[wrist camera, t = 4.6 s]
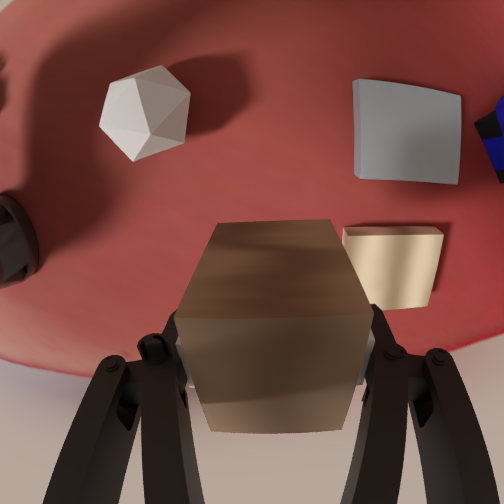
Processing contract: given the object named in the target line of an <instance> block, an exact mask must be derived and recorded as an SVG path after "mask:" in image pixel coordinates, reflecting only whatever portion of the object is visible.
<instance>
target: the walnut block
mask: <svg viewBox="0 0 504 504" xmlns="http://www.w3.org/2000/svg"><path fill="white" fill-rule="evenodd" d="M373 315H374V312H373V310H372V307H371V305H370V303H369V300H368V298H367V296H366V293H365V291H364V289H363V287H362V284H361V282H360V280H359V278H358V276H357V274H356V271H355V269H354V267H353V265H352V263H351V261H350V259H349V257H348V254H347V252H346V250H345V248H344V246H343V244H342V242H341V240H340V238H339V236H338V234H337V232H336V230H335V228H334V226H333V224H332V222H331V220H330V219H326V220H288V221H259V222H235V223H217V226H216V228H215V230H214V232H213V234H212V236H211V238H210V240H209V242H208V244H207V246H206V248H205V250H204V252H203V255H202V257H201V259H200V261H199V263H198V265H197V267H196V269H195V272H194V274H193V276H192V278H191V280H190V282H189V285H188V287H187V289H186V291H185V293H184V296H183V298H182V300H181V302H180V304H179V307H178V309H177V311H176V313H175V316H174V321H175V325H176V328H177V332H178V335H179V338H180V342H181V345H182V349H183V352H184V355H185V358H186V362H187V365H188V368H189V371H190V374H191V377H192V380H193V383H194V386H195V389H196V392H197V395H198V397H199V401H200V403H201V406H202V409H203V412H204V414H205V417H206V420H207V422H208V425H209V427H210V430H211V431H215V432H231V433H261V434H262V433H263V434H266V433H267V434H269V433H270V434H273V433H274V434H277V433H306V432H321V431H333V430H341V429H342V427H343V424H344V421H345V418H346V415H347V412H348V409H349V406H350V403H351V400H352V397H353V393H354V390H355V387H356V383H357V380H358V376H359V373H360V369H361V366H362V362H363V358H364V354H365V350H366V346H367V342H368V338H369V334H370V329H371V325H372V320H373Z"/></svg>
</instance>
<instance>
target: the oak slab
mask: <svg viewBox="0 0 504 504" xmlns="http://www.w3.org/2000/svg"><path fill="white" fill-rule="evenodd" d="M443 236H444V234H443V233H441V232H440V231H439V230H438V229H437V228H436V227H435V226H387V227H343V241H342V244H343V246H344V248H345V250H346V252H347V254H348V257H349V259H350V261H351V263H352V265H353V267H354V269H355V271H356V274H357V276H358V278H359V280H360V282H361V284H362V287H363V289H364V291H365V293H366V296H367V298H368V300H369V303H370V304H376V305H377V306H378V307H379V308H380V309H381V310H392V309H403V308H414V307H423V306H427V305H428V301H429V298H430V294H431V290H432V286H433V283H434V279H435V274H436V270H437V266H438V261H439V257H440V252H441V247H442V242H443Z"/></svg>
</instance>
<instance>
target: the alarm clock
mask: <svg viewBox="0 0 504 504" xmlns="http://www.w3.org/2000/svg"><path fill="white" fill-rule="evenodd" d="M474 125H475V127H476V129H477V131H478V133H479V135H480V137H481V139H482V141H483V143H484V145H485V148H486V150H487V152H488V154H489V157H490V159H491V161H492V164H493V166H494V169H495V171H496V174H497V176H498V179H499V182H500V183H504V96H503V97H502V98H501V99H500V101H499V102H498V103H497V107H496V111H494V112H492V113H491V114H489V115H487V116H485V117H484V118H482V119H480V120H479V121H477V122H475V123H474Z"/></svg>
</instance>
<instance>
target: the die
mask: <svg viewBox="0 0 504 504" xmlns="http://www.w3.org/2000/svg"><path fill="white" fill-rule="evenodd" d="M190 95H191V93H190V92H189V91H188V90H187V89H186V88H185V87H184V86H183V85H182V84H181V83H180V82H179V81H178V80H177V79H176V78H175V77H174V76H173V75H172V74H171V73H170V72H169V71H168V70H167V69H166V68H165V67H164V66H162V65H160V66H157V67H153V68H150V69H147V70H144V71H141V72H139V73H136V74H133V75H130V76H127V77H125V78H122V79H120V80H117V81H114V82H112V83H110V85H109V89H108V92H107V96H106V100H105V103H104V107H103V111H102V115H101V119H100V124H99V127H100V128H101V129H102V130H103V131H104V132H105V133H106V134H107V135H108V136H109V137H110V138H111V139H112V140H113V142H114V143H115V144H116V145H117V146H118V147H119V148H120V149H121V150H122V151H123V152H124V153H125V154H126V155H127V156H128V157H129V158H130V159H131V160H132V161H133V162H134V161H136V160H139V159H142V158H144V157H147V156H150V155H152V154H155V153H158V152H161V151H163V150H166V149H169V148H172V147H175V146H178V145H181V144H184V143H185V134H186V126H187V118H188V110H189V102H190Z"/></svg>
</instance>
